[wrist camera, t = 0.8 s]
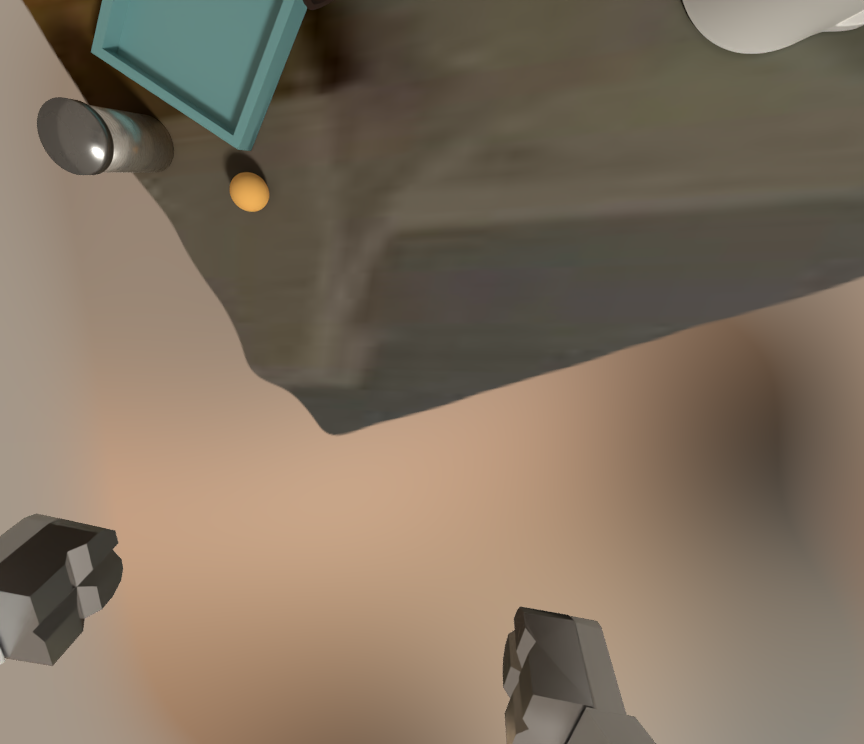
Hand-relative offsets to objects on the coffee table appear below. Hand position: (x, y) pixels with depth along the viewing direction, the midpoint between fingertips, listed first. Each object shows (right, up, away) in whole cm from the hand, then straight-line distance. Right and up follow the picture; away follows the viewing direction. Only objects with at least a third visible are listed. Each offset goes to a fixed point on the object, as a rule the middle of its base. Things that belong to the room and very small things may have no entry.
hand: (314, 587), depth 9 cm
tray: (-17, +34, +29) cm, 48 cm away
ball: (-15, +22, +35) cm, 44 cm away
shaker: (-25, +27, +34) cm, 50 cm away
